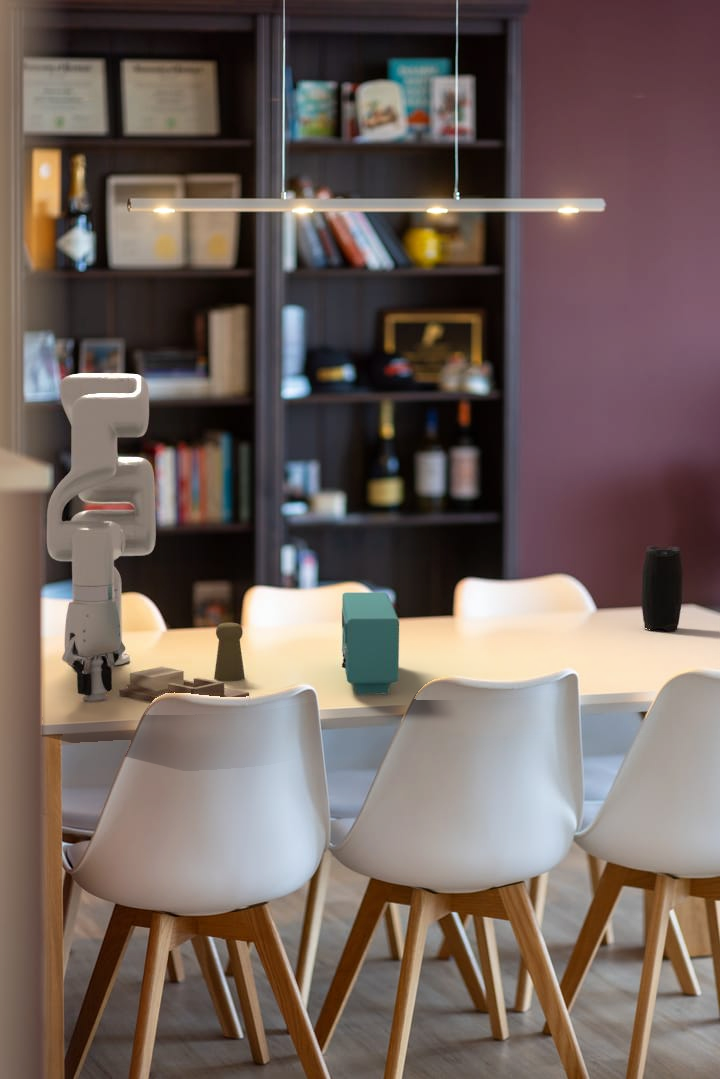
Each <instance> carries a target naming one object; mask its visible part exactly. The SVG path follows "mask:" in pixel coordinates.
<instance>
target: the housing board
mask: <svg viewBox="0 0 720 1079" xmlns="http://www.w3.org/2000/svg"><path fill="white" fill-rule="evenodd" d="M126 686H127V687H124V688H119V690H118V691H119V692H118V693H119V694H118V695H119V697H124V698H128V699H133V700H136V701H137V700H138V701H142V702H146V703H151V702H152V701H153V700H154V699H155V698H157V697H159V696H161V695H163V694H165V693H174V692H175V693H191V694H199V695H209V696H220V697H246V696H249V697H250V692H248V691H243V690H238V689H234V688H233V689H232V688H228V687H225V682H224V681H218V680H212V679H206V678H203V677H194V678H193V681H192V680H188V679H184V685H180V684H174V683H169V684H168V689H165V690H160V691H158V690H153V689H148V688H143V687H139V686H134V685H130V684H126Z"/></svg>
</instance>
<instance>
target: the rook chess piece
mask: <svg viewBox="0 0 720 1079" xmlns="http://www.w3.org/2000/svg"><path fill="white" fill-rule="evenodd" d="M102 663H103V660H102V659H101V656H97V658H95V656H93V657H92V658H90V665H89V672H88V673H89V674H91V687H92V693H91V695H89V696H87V695H83V696H82V699H83V700H84V701H86V702H93V703H95V702H96V703H97V702H103V701H106V699H107V698H108V696H107V695H106V694H107V692H108V691H106V689H105V688H104V685H103V683H102V677H101V671H102V669H101V665H102Z"/></svg>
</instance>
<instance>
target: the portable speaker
mask: <svg viewBox="0 0 720 1079" xmlns="http://www.w3.org/2000/svg"><path fill="white" fill-rule="evenodd" d="M681 556H682V555H681V549H680V547H678V546H668V547H657V546H656V545H655V546H654V545H651V546H647V547H646V552H645V557H644V562H643V567H642V570H641V571H642V574H641V575H642V577H641V611H642V612H641V613H642V618H643V623H644V629H645V628H647V629H650V630H652V631H653V630H654V629H664V631H665V632H667V631H672V632H676V631H678V626H679V623H680V617H681V610H682V602H683V601H682V600H683V599H682V598H683V574H684V573H683V565H682V559H681ZM675 630H676V631H675Z"/></svg>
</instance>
